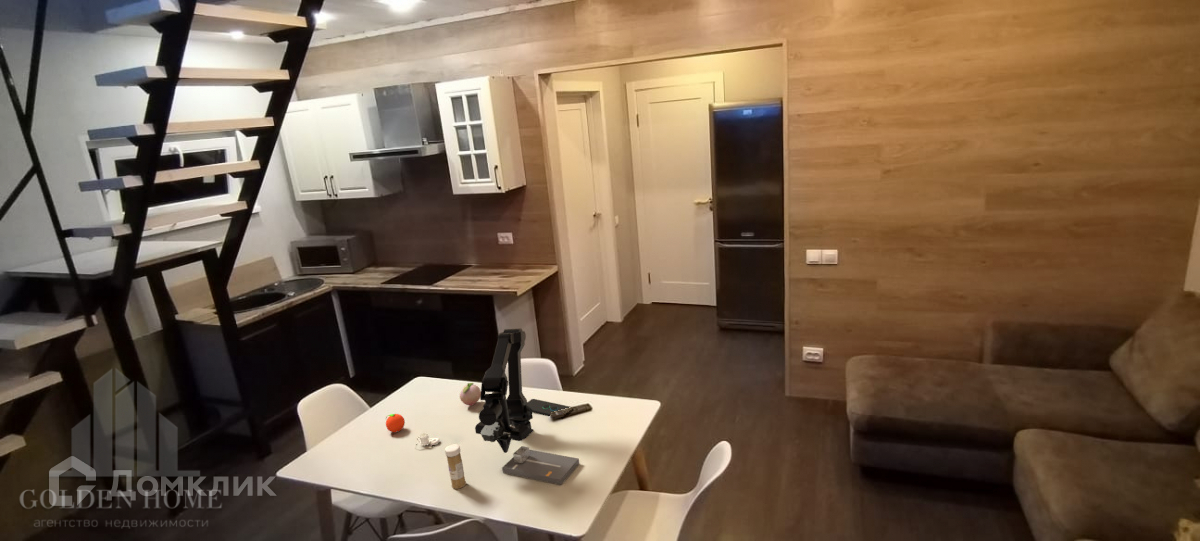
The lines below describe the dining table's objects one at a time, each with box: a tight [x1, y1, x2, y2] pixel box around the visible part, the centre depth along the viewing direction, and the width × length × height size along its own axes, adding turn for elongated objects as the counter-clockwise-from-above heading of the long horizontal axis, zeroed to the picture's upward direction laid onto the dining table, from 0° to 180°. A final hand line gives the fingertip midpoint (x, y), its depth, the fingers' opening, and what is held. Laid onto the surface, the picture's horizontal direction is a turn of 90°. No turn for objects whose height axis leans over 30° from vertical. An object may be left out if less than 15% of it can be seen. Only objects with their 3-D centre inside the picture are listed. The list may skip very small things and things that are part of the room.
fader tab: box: [512, 445, 531, 464], centre depth 191 cm, size 3×5×3 cm, turn 153°
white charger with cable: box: [416, 433, 440, 446], centre depth 211 cm, size 9×8×4 cm
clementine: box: [385, 413, 406, 433], centre depth 224 cm, size 8×7×7 cm
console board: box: [501, 449, 580, 486], centre depth 188 cm, size 22×12×2 cm, turn 63°
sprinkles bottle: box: [444, 443, 467, 490], centre depth 183 cm, size 5×5×14 cm
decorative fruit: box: [459, 382, 481, 406], centre depth 238 cm, size 9×8×10 cm
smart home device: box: [527, 398, 571, 417], centre depth 228 cm, size 8×2×20 cm
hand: (505, 452), depth 194 cm, fingers closed
